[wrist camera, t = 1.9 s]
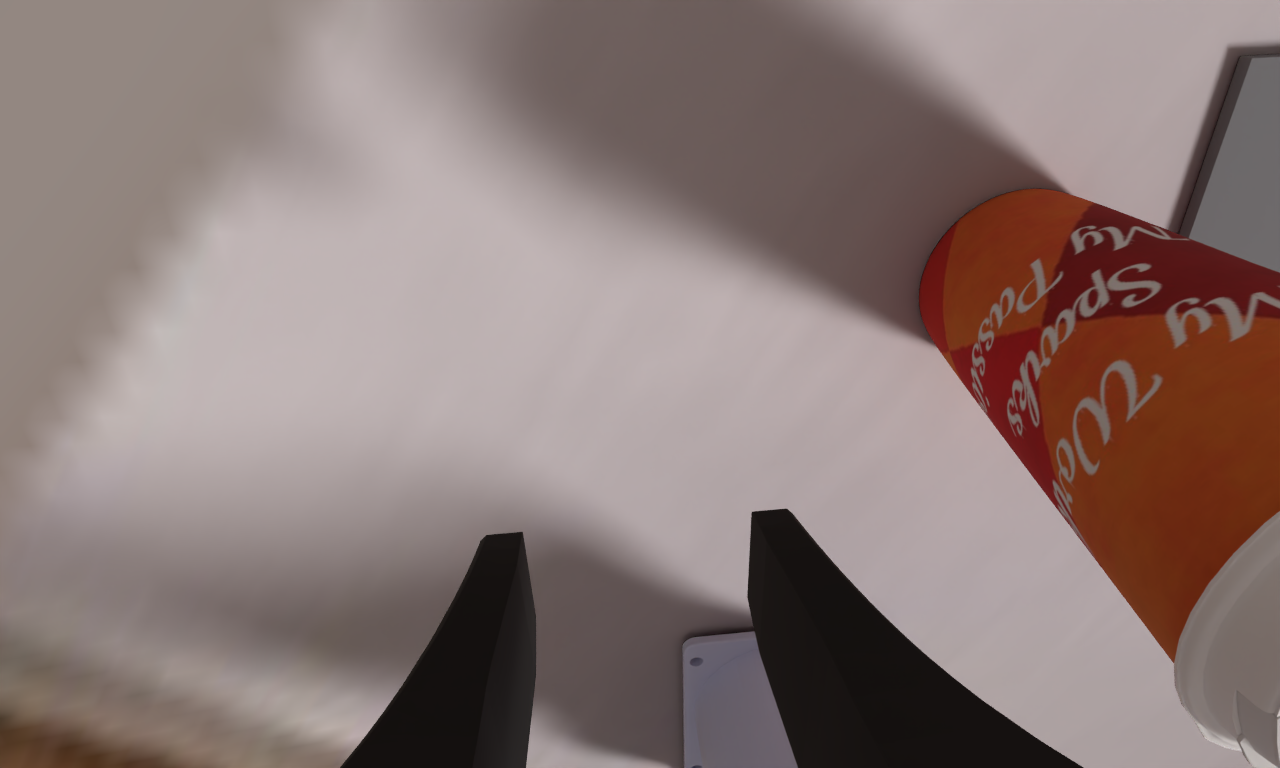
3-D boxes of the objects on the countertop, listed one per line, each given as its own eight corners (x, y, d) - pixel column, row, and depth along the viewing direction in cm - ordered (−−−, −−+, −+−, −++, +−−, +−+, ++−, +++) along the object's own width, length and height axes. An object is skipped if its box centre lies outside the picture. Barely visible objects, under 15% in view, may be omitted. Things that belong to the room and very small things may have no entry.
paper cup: (996, 98, 20) (1666, 346, 8) (1191, 219, 22) (1942, 555, 10) (830, 339, 23) (1121, 775, 11) (1015, 423, 25) (1422, 858, 13)
